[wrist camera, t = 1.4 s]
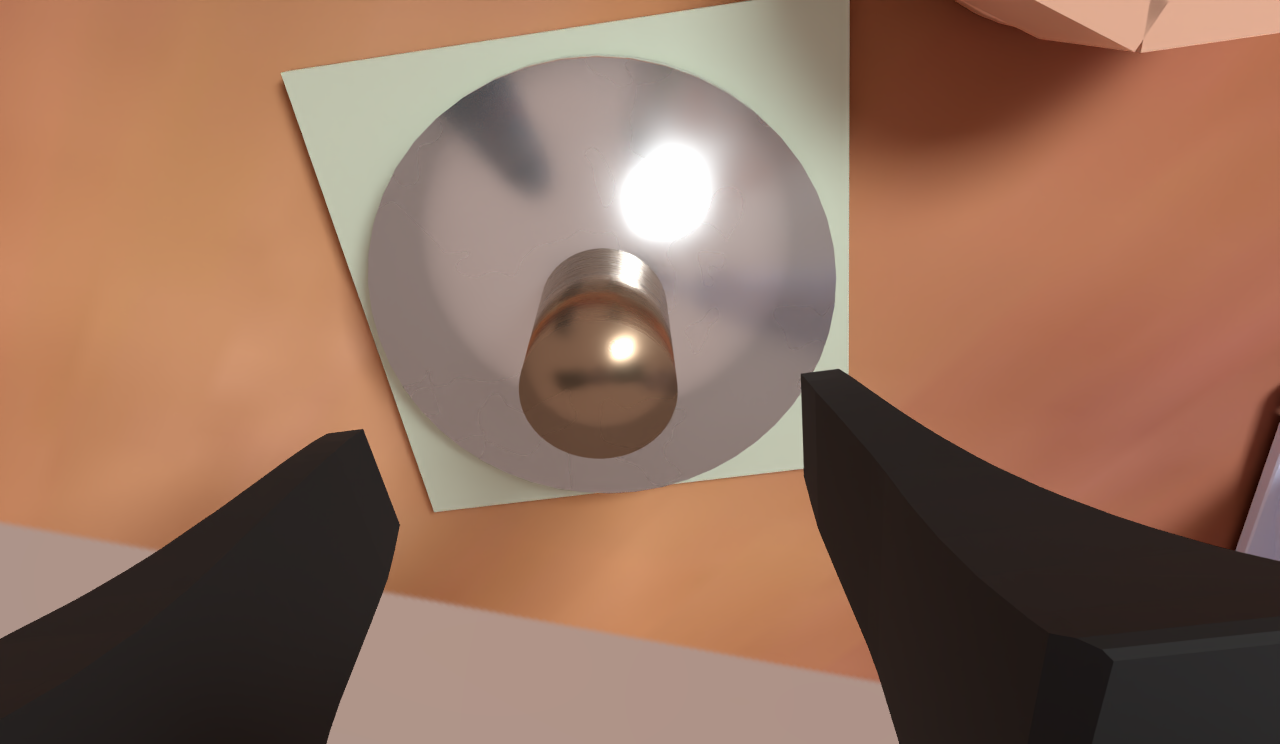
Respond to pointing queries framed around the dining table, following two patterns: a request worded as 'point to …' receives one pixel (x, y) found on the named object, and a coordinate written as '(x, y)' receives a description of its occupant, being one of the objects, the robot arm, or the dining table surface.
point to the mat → (690, 39)
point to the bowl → (1134, 21)
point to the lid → (601, 274)
